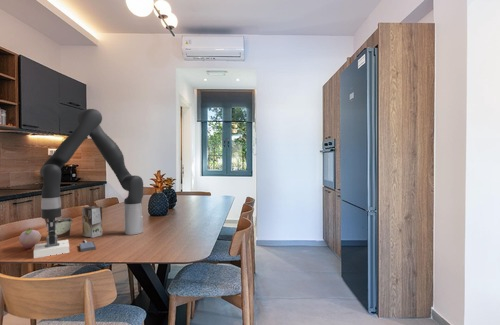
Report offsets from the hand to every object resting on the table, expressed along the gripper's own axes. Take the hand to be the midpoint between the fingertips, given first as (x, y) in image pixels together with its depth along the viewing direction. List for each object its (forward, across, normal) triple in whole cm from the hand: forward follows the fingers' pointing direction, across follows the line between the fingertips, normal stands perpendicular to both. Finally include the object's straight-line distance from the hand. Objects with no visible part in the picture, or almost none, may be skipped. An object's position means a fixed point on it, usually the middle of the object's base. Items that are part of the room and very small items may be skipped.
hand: (52, 241), depth 132 cm
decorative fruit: (+5, +12, +9) cm, 15 cm away
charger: (+4, 0, 0) cm, 5 cm away
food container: (+5, +27, -2) cm, 28 cm away
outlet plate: (+4, 0, 0) cm, 5 cm away
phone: (+5, +1, -14) cm, 15 cm away
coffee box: (+5, +20, -18) cm, 28 cm away
